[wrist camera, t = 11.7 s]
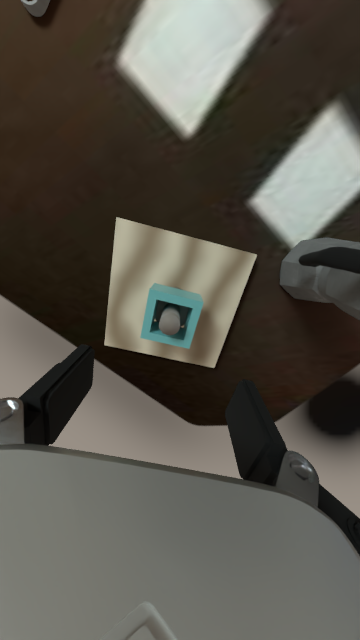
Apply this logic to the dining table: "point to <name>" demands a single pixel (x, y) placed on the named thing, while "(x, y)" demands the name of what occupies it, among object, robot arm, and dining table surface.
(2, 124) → the dining table surface
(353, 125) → the dining table surface
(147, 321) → the collar
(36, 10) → the adjustable wrench
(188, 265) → the post stand
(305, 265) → the coffeepot
